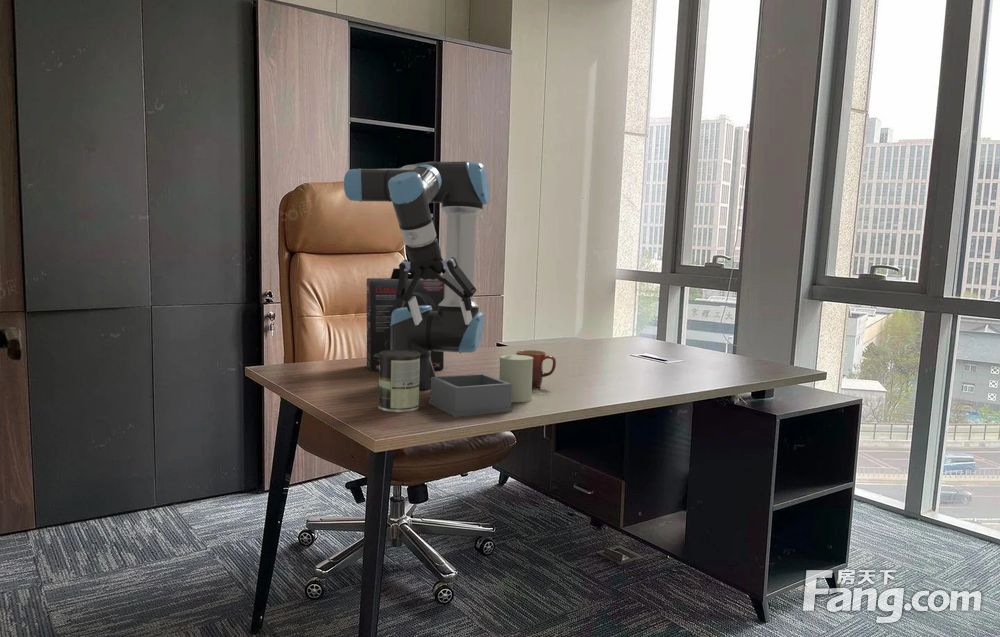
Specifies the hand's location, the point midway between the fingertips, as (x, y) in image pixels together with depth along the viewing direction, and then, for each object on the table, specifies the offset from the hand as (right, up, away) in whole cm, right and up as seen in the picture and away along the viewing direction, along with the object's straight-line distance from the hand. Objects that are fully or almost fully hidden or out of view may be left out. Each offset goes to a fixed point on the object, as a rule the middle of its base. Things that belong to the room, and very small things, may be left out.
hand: (443, 322), depth 176 cm
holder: (+6, -22, +11) cm, 25 cm away
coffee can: (-12, -22, +9) cm, 26 cm away
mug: (+24, -20, +41) cm, 52 cm away
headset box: (-18, -16, +67) cm, 72 cm away
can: (+18, -21, +23) cm, 36 cm away
